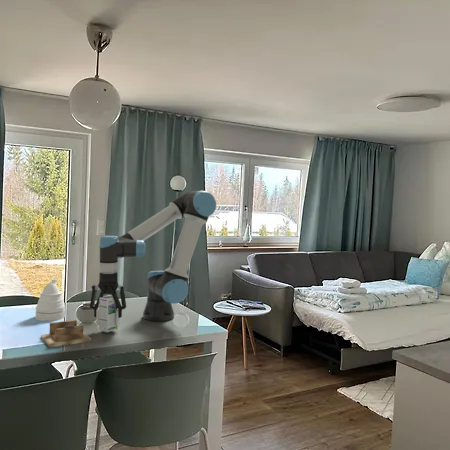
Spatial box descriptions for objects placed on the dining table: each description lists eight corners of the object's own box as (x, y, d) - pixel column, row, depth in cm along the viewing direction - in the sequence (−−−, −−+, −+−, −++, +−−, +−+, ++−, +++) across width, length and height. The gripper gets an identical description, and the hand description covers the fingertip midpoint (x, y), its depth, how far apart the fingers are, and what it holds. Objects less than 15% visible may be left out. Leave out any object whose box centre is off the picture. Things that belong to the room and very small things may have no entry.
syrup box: (107, 332, 182) (108, 298, 181) (97, 330, 185) (98, 296, 184) (117, 329, 187) (118, 296, 186) (107, 327, 190) (108, 294, 189)
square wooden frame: (81, 332, 184) (81, 316, 184) (91, 341, 173) (91, 324, 172) (41, 337, 175) (41, 321, 175) (49, 347, 164) (49, 330, 163)
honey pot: (50, 312, 213) (50, 276, 213) (70, 316, 208) (71, 279, 208) (29, 318, 202) (30, 280, 201) (50, 322, 197) (51, 283, 196)
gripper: (134, 271, 188) (133, 322, 190) (87, 270, 189) (86, 321, 190) (130, 274, 181) (129, 328, 182) (81, 272, 181) (81, 326, 182)
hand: (107, 324), depth 186 cm, fingers closed on syrup box, 8 cm apart
